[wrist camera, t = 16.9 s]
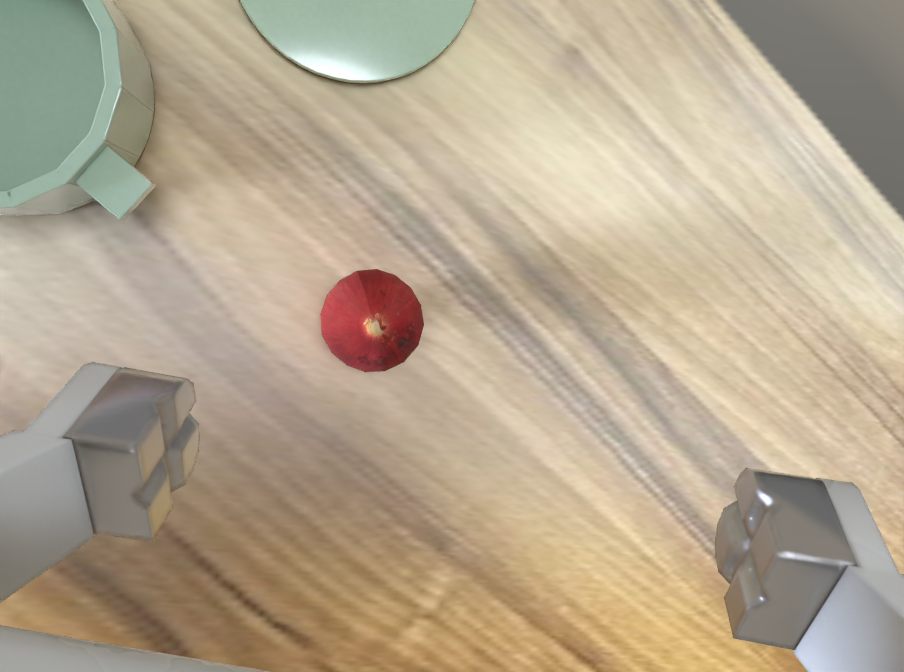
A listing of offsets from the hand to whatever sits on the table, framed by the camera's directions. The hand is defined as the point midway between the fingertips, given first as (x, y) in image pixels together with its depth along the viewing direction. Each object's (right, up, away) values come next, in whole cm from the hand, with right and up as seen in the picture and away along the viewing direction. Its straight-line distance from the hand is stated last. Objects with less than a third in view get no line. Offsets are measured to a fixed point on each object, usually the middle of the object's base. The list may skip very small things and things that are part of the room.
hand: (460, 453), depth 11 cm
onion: (-5, +3, +36) cm, 36 cm away
